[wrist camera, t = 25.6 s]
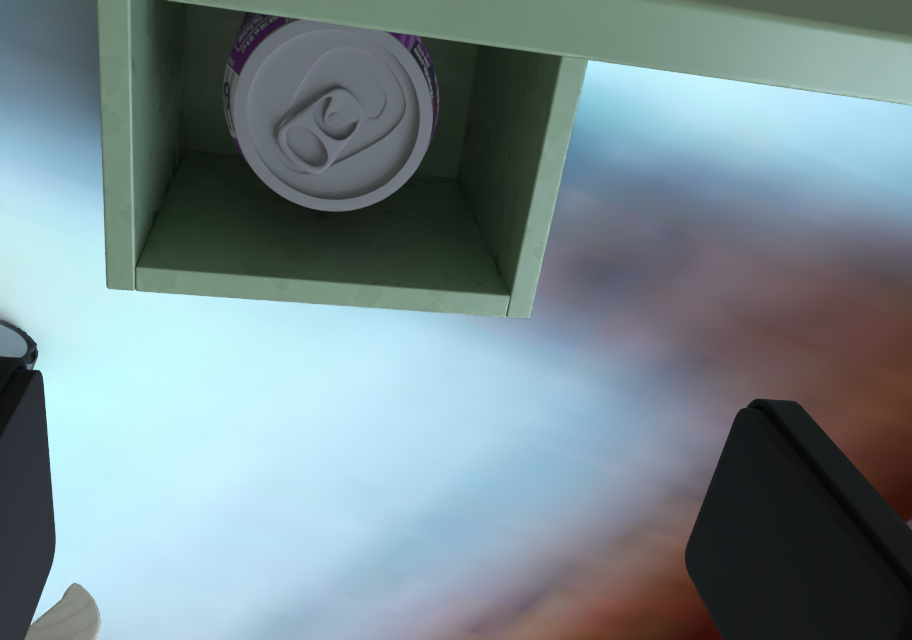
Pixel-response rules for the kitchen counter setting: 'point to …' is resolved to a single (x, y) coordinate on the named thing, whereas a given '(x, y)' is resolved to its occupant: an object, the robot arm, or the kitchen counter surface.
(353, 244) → the green box
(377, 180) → the beverage can
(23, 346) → the toy excavator
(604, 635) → the kitchen counter surface
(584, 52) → the green box lid
